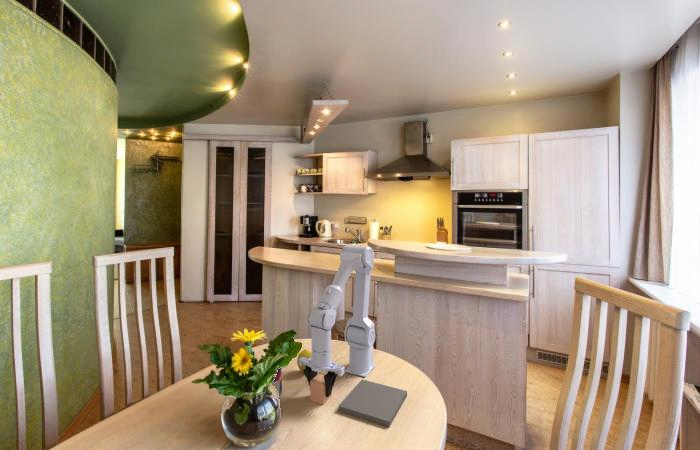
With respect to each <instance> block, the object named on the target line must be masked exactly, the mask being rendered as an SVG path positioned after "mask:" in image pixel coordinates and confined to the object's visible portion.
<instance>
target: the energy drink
mask: <svg viewBox="0 0 700 450" xmlns="http://www.w3.org/2000/svg"><path fill="white" fill-rule="evenodd" d="M272 385H273V386H275V388H276V389H277V391H278V393H279V396H280V397H281V396H282V395H283V367H282V368H280V369H278V372H277V375H276V377H275V380H274V381H273V382H272Z"/></svg>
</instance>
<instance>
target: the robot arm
mask: <svg viewBox="0 0 700 450" xmlns="http://www.w3.org/2000/svg"><path fill="white" fill-rule="evenodd" d="M339 258H340V259H339V260H340V264H339V266H338V268H337V270H336V274H335V275H334V278H333V281H332V283H331V284H330V285H327V286H326V288H324V289H325V290H324V292H323V293H322V295H321V298H319V301H318V302H317V305H316V306H315V307H314V308H312V309H311V310H310V311H309V313H308V317H307V319H306V320H307V324H308V326H309V331H310V333H311V353H312V358H307V357H302V358H300V359H299V365H300V366H303V365H304V366H306V368H305V369H304V370H303V371H302V372H303V374H304V376H305V378H306V380H307V382H308V385H309V387H310V381H311V380H312V379H313V378H314V377H315V376H317V375H318V374H319V373H318V372H319V371H322V372H327V373H326V374H323V375H324V380H325V386H326V397H329V396H330V395H331V393H333V388H334V385H335V382H336V380H337V378H338V377H343V375H344V374H345V373H347V374H350V375H351V374H352V375H355V376H358V377H359V376H360V377H363V378H366V377H367V376H368V375H369V374H370V372H371V371H372V370H373V369H374V368H375V367H376V363H374V346H373V345H374V344H375V342H376V331H375V323H374V322H373V320H371V319H370V318H369V306H370V305H369V304H370V288H371V277H372V275H371V274H372V271H373V270H374V263H375V262H374V261H375V252H374V251H373V249H372V247H371V246H367V245H366V246H361V245H360V246H359V245H351V244H345V245H344V246H343V247H342V249H341V252H340V254H339ZM353 271H354V272H355V283H354V295H353V297H354V298H353V310H352V311H353V314H352V317H351V318H349V319H348V320H347V321H346V326H345V329H344V333H343V336H344V340H345V341H346V342H347V345H348V346H349V352H348V353H349V355H348V358H349V360H348V363H349V364H348V366H347V368H345V366H342V365H340V364H337V363H335V362H334V361H332V347H331V346H332V329H333V327H334V325H335V324H336V317H337V309H338V307H339V305H340V303H341V301H342V298H343V296H344V292H343V288H344V286H345V285H346V283H347V282H348V279H349V278H350V276H351V275H352V273H353Z"/></svg>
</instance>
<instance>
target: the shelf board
mask: <svg viewBox="0 0 700 450" xmlns="http://www.w3.org/2000/svg"><path fill="white" fill-rule="evenodd" d="M407 397H408V391H407V390H405V389H400V388H396V387H393V386H390V385H385V384H381V383H377V382H373V381H371V380H367V379H361V380H359V382H358V383H357V384H356V385H355V387H354V388H353V389H352V390H351V391H350V392H349V394H347V396H346V397H345V398H344V399H343V400H342V401H341V403H339V405H338V412H340V413H344V414H347V415H350V416H353V417H355V418H360V419H363V420H364V421H369V422H372V423H376V424H378V425H381V426H385V427H387V428H390V427H391V425H392V424H393V421H394V420H395V418H396V416H397V415H398V413H399V411H400V410H401V408H402V405H403V404H404V403H405V401H406V398H407Z"/></svg>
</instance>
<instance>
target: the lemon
mask: <svg viewBox="0 0 700 450" xmlns="http://www.w3.org/2000/svg"><path fill="white" fill-rule="evenodd" d="M302 357H307V358H312V351H310V350H308V349H304V350H301V351H299V353H298V356H297V361H296V362H297V363H296V364H297V367H298V369H299V370H300V371H302V372H303V370H304V369H305V368H306V366H304V365H303V366H300V365H299V359H300V358H302Z"/></svg>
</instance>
